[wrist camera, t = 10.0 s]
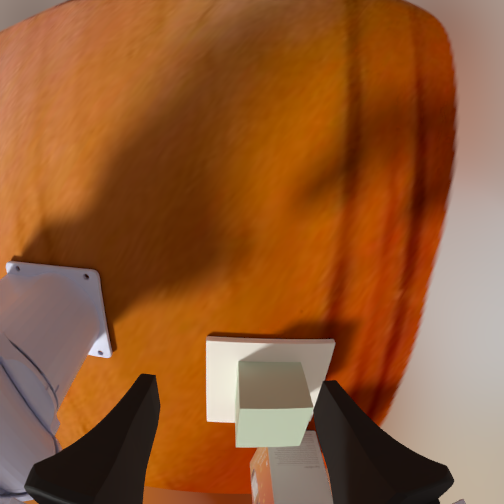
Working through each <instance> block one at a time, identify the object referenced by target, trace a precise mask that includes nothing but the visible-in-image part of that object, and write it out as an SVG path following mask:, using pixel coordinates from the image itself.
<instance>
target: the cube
mask: <svg viewBox="0 0 504 504" xmlns="http://www.w3.org/2000/svg"><path fill="white" fill-rule="evenodd" d="M313 408H314V407H313V403H312V400H311V396H310V392H309V389H308V385H307V382H306V378H305V374H304V371H303V367H302V364H301V362H247V361H238V371H237V383H236V395H235V429H236V447H287V446H300V444H301V441H302V439H303V436H304V433H305V431H306V428H307V425H308V422H309V419H310V417H311V414H312V411H313Z"/></svg>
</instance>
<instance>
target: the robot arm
mask: <svg viewBox="0 0 504 504" xmlns="http://www.w3.org/2000/svg"><path fill="white" fill-rule="evenodd" d="M18 267H19V268H18ZM6 269H7V275H6V276H4V277H3V278H2V279H0V504H26V503H24V502H22V501H28V500H33V499H34V500H35V501H36V502H37V503H39V504H142V502H143V491H144V482H145V474H146V469H147V464H148V460H149V456H150V452H151V449H152V445H153V441H154V437H155V434H156V430H157V426H158V420H159V413H160V400H159V394H158V388H157V381H156V375H150V374H141V375H140V376H139V377H138V378H137V380H136V381H135V383H134V384H133V385H132V387H131V388H130V389H129V390H128V392H127V393H126V394H125V395H124V397H123V398H122V399H121V400H120V401H119V403H118V404H117V405H116V406H115V407H114V408H113V409H112V410H111V411H110V412H109V413H108V415H107V416H106V417H105V418H104V419H103V420H102V421H101V422H100V423H98V424H97V425H96V426H95V427H94V428H93V429H92V430H90V431H89V432H88V433H87V434H85V435H84V436H83V437H82V438H80V439H79V440H78V441H76V442H75V443H73V444H72V445H70V446H68V447H67V448H65V449H63V450H62V448H61V446H60V443H59V441H58V440H57V439H56V437H55V434H56V432H57V430H58V428H59V425H60V422H59V421H58V419H57V416H56V413H57V411H58V409H59V407H60V405H61V403H62V401H63V399H64V397H65V395H66V393H67V392H68V390H69V388H70V386H71V384H72V382H73V380H74V378H75V377H76V375H77V373H78V371H79V369H80V368H81V366H82V364H83V362H84V360H85V359H86V357H87V355H93V356H99V357H105V358H110V357H111V355H112V348H111V343H110V338H109V333H108V328H107V322H106V317H105V311H104V304H103V298H102V291H101V283H100V276H99V273H98V272H97V271H96V270H93V269H83V268H73V267H63V266H53V265H43V264H34V263H25V262H16V261H9V262H8V263H7V264H6ZM19 269H20V270H19ZM85 274H87V275H88V276H89V278H87V277H86V275H85ZM101 351H102V352H101ZM313 413H314V420H315V426H316V431H317V435H318V438H319V442H320V445H321V448H322V452H323V455H324V458H325V462H326V465H327V468H328V473H329V477H330V483H331V490H332V497H333V504H440V502H439V499H438V498H439V497H440V496H441V495H443V494H444V493H445V492H446V491H447V490H448V489H449V488H450V487H451V486H452V485H453V483H454V479H453V477H452V475H451V473H450V471H449V469H448V467H447V466H446V465H443V464H440V463H438V462H435V461H432V460H430V459H428V458H426V457H423V456H421V455H419V454H417V453H415V452H414V451H412V450H410V449H409V448H407V447H405V446H404V445H402V444H401V443H399V442H398V441H396V440H395V439H393V438H392V437H391V436H390V435H388V434H387V433H386V432H384V431H383V430H382V429H381V428H380V427H378V426H377V425H376V424H375V423H374V422H373V421H372V420H371V419H370V418H369V417H368V416H367V415H366V414H365V413H364V412H363V411H362V410H361V409H360V408H359V407H358V405H357V404H356V403H355V402H354V401H353V400H352V399H351V398H350V396H349V395H348V394H347V393H346V392H345V390H344V389H343V388H342V387H341V386H340V385H339V383H338V382H337V381H336V380H332V381H323V382H322V385H321V388H320V391H319V394H318V397H317V400H316V403H315V406H314V409H313ZM453 504H466V503H465V501H464V499H461V500H459V501H457V502H455V503H453Z"/></svg>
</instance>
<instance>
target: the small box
mask: <svg viewBox="0 0 504 504" xmlns="http://www.w3.org/2000/svg"><path fill="white" fill-rule="evenodd" d="M250 471H251V488H252V499H253V500H252V501H253V504H333V499H332V495H331V491H330V487H329V482H328V478H327V474H326V470H325V466H324V462H323V458H322V454H321V451H320V447H319V443H318V439H317V435H316V432H315V431H305V433H304V436H303V439H302V441H301V444H300V446H287V447H258V448H257V450H256V452H255V454H254V456H253V458H252V460H251V462H250Z"/></svg>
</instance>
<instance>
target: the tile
mask: <svg viewBox="0 0 504 504" xmlns="http://www.w3.org/2000/svg"><path fill="white" fill-rule="evenodd" d="M335 344H336V343H335V341H334V339H259V338H234V337H215V336H207V339H206V396H207V421H211V422H231V423H235V395H236V383H237V371H238V361H247V362H301V364H302V367H303V371H304V374H305V378H306V382H307V385H308V389H309V392H310V396H311V400H312V403H313V407H314V406H315V403H316V400H317V397H318V394H319V391H320V388H321V385H322V382H323V381H324V380H325V377H326V374H327V371H328V367H329V364H330V361H331V357H332V354H333V351H334V347H335ZM313 409H314V408H313ZM312 416H313V411H312V414H311V417H310V419H309V421H311V419H312Z"/></svg>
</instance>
